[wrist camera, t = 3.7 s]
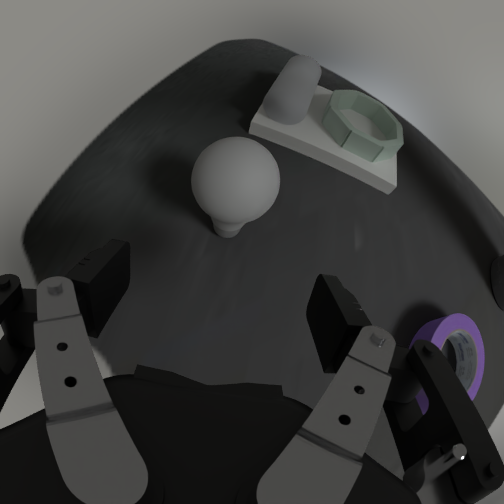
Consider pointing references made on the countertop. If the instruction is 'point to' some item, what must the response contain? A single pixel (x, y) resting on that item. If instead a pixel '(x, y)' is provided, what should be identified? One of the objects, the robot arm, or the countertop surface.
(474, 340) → the masking tape
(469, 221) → the countertop surface
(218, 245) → the countertop surface
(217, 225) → the lightbulb
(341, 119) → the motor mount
